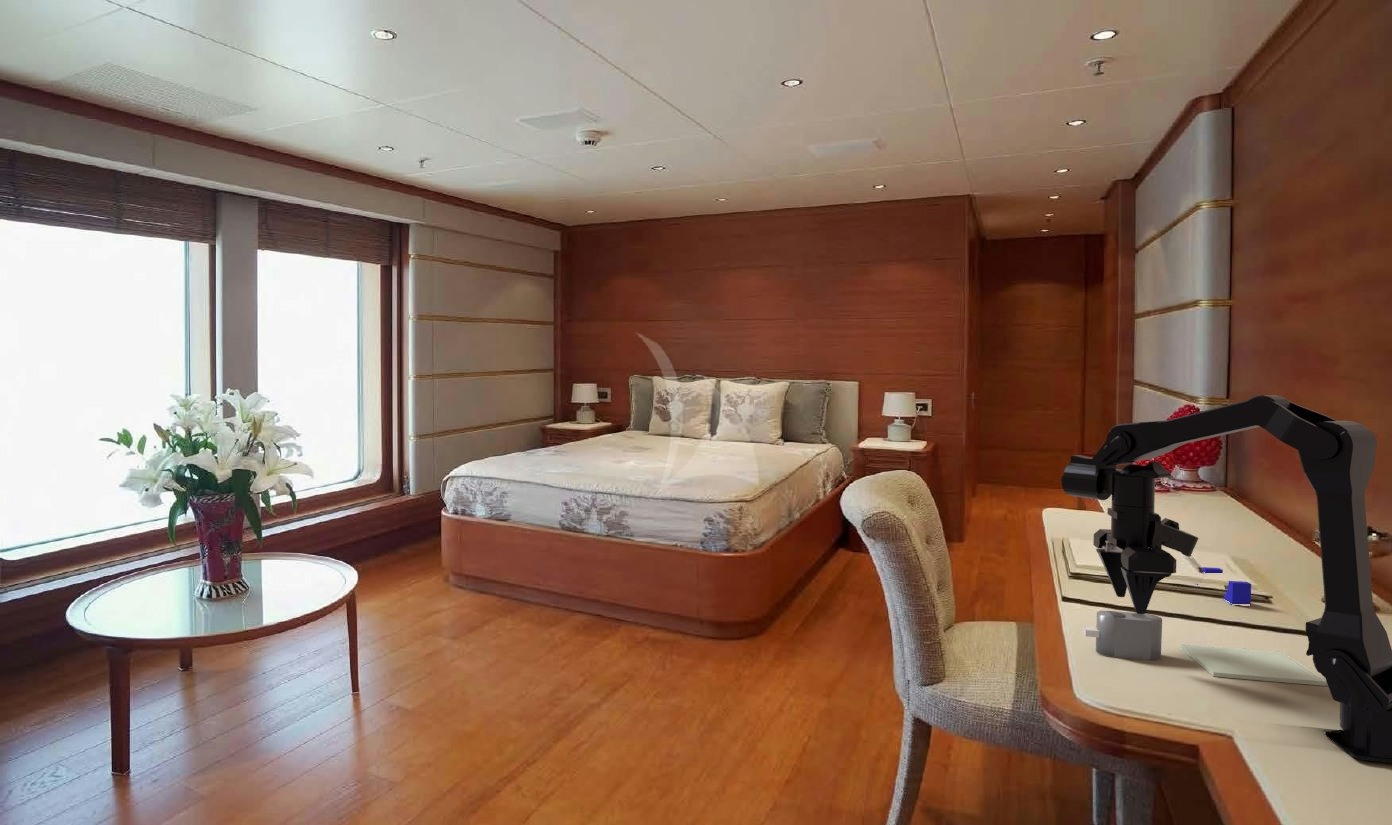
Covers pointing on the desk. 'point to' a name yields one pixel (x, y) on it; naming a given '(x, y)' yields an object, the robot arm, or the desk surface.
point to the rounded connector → (1127, 635)
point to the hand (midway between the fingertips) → (1130, 604)
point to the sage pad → (1251, 664)
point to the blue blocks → (1234, 589)
